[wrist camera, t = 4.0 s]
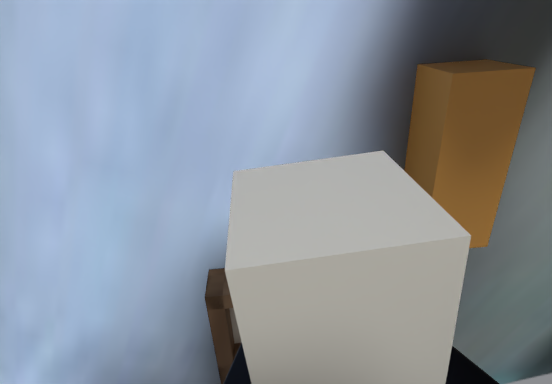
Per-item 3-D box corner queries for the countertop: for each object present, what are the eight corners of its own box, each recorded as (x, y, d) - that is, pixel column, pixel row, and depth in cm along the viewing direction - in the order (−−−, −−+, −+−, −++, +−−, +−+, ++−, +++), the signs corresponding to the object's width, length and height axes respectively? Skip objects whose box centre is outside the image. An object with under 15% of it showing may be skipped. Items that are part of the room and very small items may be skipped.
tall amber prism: (415, 63, 17) (453, 73, 14) (483, 58, 17) (535, 68, 14) (396, 218, 21) (422, 252, 18) (452, 213, 21) (487, 246, 18)
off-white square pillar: (233, 171, 8) (225, 270, 5) (383, 150, 8) (471, 235, 5) (277, 405, 12) (289, 541, 9) (376, 390, 12) (421, 520, 9)
